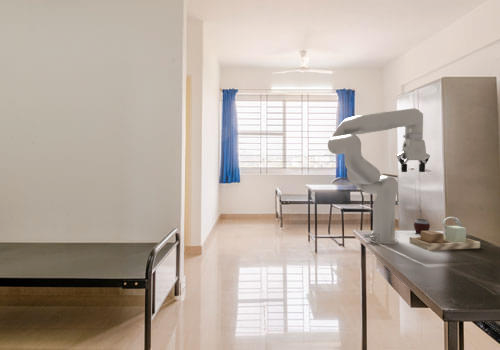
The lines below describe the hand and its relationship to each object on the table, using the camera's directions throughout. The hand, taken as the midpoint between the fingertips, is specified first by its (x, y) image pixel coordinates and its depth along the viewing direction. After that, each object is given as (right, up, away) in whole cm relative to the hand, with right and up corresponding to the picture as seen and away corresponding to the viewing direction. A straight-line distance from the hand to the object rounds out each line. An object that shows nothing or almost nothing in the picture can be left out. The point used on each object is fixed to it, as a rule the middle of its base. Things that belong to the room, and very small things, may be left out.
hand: (413, 172), depth 138 cm
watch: (+19, -34, 0) cm, 39 cm away
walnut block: (-1, -33, -15) cm, 36 cm away
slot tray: (+5, -34, -14) cm, 37 cm away
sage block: (+11, -33, -14) cm, 37 cm away
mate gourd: (+9, -33, +8) cm, 35 cm away
